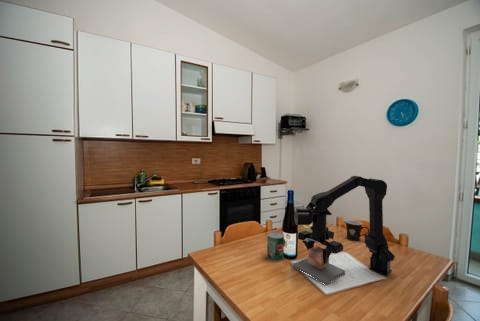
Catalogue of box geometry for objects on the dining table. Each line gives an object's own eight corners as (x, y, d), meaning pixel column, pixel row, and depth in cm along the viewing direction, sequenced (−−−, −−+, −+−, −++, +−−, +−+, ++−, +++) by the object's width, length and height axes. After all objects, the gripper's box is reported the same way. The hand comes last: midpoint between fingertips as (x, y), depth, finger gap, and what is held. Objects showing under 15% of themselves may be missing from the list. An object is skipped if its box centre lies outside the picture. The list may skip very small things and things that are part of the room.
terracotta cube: (328, 264, 90) (329, 250, 90) (320, 268, 87) (320, 254, 87) (316, 258, 95) (316, 245, 95) (308, 262, 92) (308, 249, 92)
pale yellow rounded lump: (298, 235, 131) (298, 218, 131) (315, 233, 135) (315, 216, 134) (309, 243, 120) (310, 224, 120) (327, 240, 124) (327, 222, 124)
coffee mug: (342, 237, 129) (342, 221, 128) (351, 235, 132) (352, 219, 132) (360, 245, 118) (360, 227, 118) (369, 242, 122) (370, 225, 122)
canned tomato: (283, 262, 98) (283, 238, 98) (266, 260, 100) (266, 237, 99) (283, 254, 106) (283, 232, 106) (267, 252, 107) (268, 231, 107)
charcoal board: (345, 274, 89) (345, 270, 89) (325, 285, 81) (325, 281, 81) (312, 258, 102) (312, 255, 102) (292, 267, 94) (292, 263, 94)
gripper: (350, 227, 88) (349, 264, 88) (312, 216, 103) (311, 248, 103) (335, 232, 81) (334, 272, 82) (297, 220, 97) (296, 254, 97)
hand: (318, 260), depth 91 cm, fingers closed on terracotta cube, 6 cm apart
